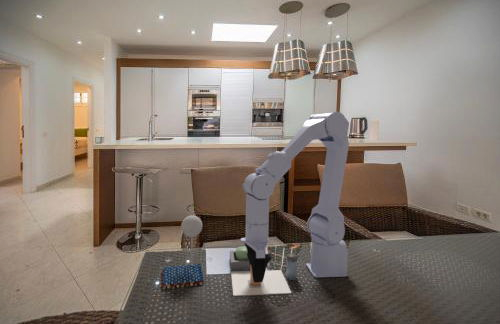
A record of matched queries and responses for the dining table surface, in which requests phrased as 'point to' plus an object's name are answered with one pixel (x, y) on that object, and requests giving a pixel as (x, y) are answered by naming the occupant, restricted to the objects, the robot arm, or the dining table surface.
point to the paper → (270, 285)
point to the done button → (241, 253)
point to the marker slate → (291, 266)
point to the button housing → (238, 263)
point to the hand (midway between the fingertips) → (256, 274)
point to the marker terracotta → (253, 280)
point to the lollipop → (191, 229)
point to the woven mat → (182, 276)
